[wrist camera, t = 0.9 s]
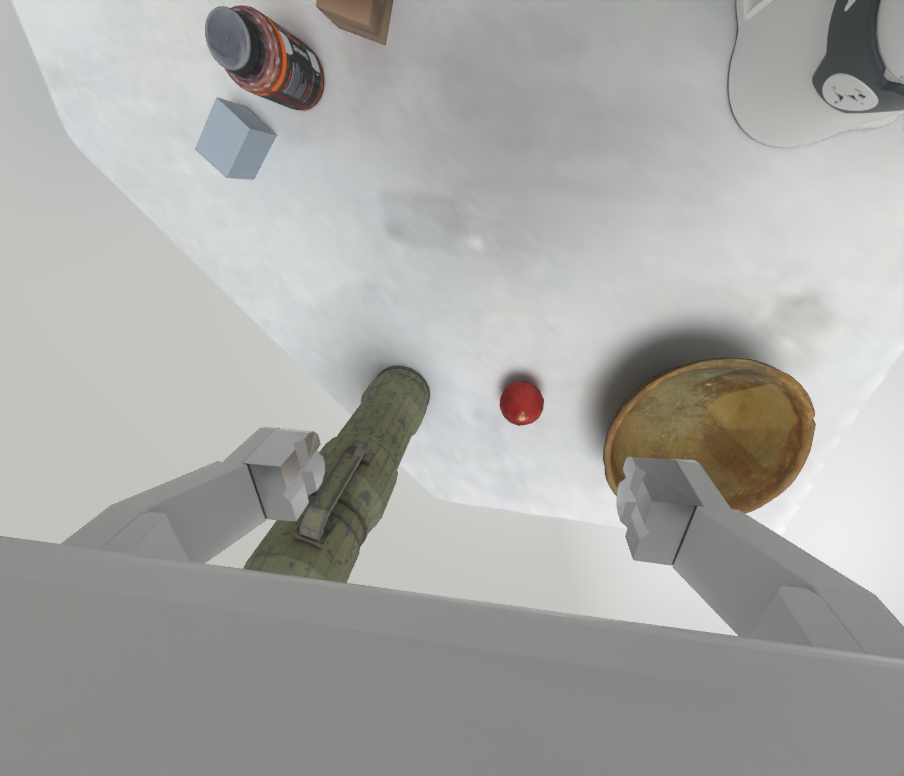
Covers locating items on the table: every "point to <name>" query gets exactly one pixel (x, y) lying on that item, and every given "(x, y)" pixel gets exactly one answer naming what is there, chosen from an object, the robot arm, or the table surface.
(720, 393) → the bowl
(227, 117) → the slate block
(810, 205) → the table surface
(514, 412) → the onion
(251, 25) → the supplement bottle
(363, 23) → the walnut cube
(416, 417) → the thermos
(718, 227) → the table surface
